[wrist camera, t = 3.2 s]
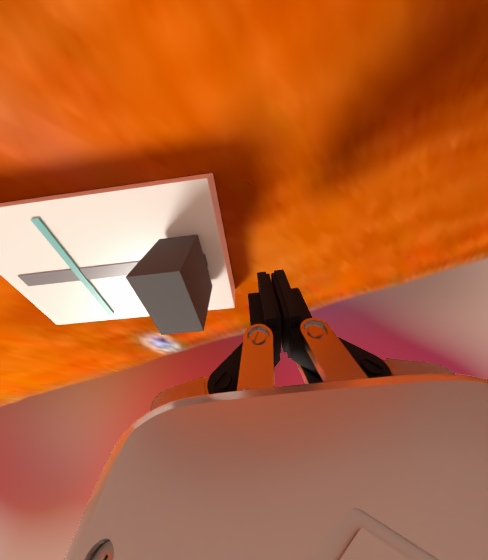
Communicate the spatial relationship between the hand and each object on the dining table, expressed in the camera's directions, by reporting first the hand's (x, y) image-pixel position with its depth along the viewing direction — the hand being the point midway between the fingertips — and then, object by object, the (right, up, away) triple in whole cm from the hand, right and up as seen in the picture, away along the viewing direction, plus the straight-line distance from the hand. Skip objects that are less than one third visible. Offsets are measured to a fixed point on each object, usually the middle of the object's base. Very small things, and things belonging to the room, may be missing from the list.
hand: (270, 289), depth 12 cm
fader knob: (-6, +2, +3) cm, 7 cm away
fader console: (-13, +3, +6) cm, 15 cm away
